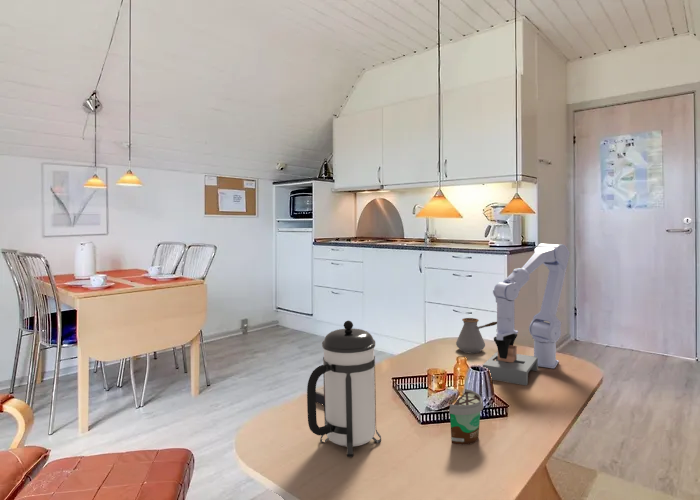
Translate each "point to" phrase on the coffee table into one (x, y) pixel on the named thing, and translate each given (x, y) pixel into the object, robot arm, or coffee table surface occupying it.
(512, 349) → the peg
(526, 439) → the coffee table surface
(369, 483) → the coffee table surface
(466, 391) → the food container
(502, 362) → the keyhole plate
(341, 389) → the coffee press
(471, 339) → the coffee pot
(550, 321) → the robot arm
